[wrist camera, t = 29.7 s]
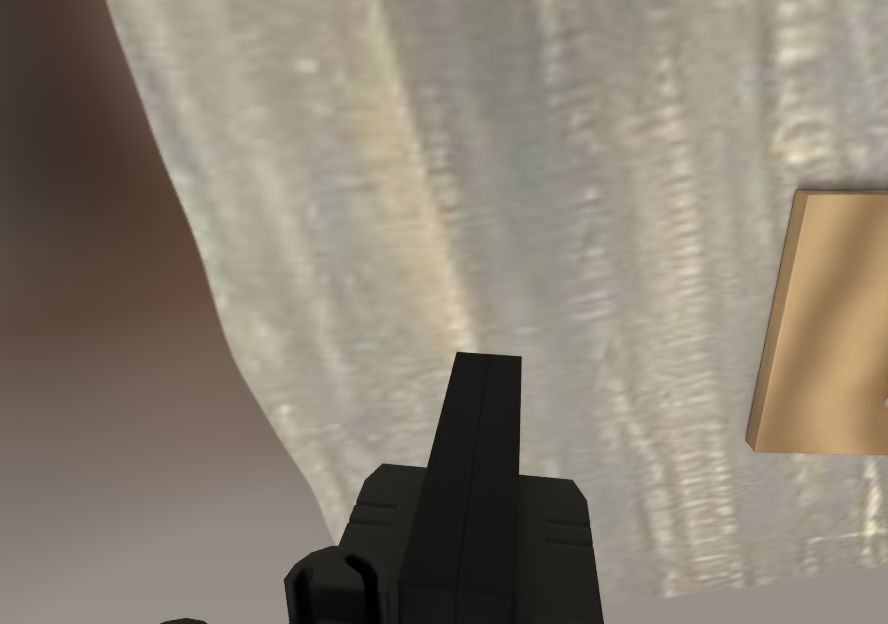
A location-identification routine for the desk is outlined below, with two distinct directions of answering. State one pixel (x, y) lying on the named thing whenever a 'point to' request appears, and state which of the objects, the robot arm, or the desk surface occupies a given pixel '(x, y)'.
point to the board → (828, 331)
